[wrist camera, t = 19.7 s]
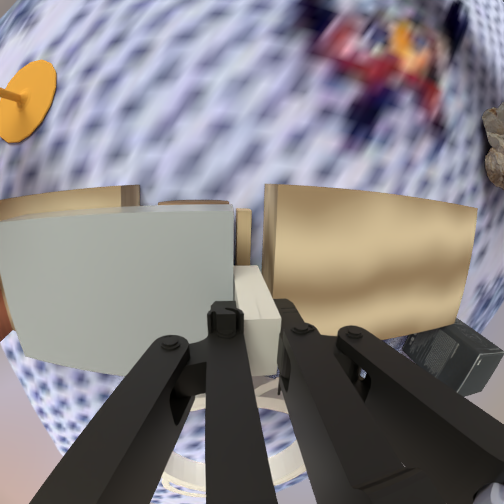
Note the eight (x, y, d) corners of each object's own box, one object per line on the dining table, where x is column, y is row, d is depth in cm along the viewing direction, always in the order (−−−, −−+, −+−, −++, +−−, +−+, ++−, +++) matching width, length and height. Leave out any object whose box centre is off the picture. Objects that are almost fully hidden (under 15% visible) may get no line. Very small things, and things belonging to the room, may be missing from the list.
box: (400, 350, 28) (450, 402, 17) (420, 308, 26) (481, 353, 16) (436, 351, 29) (481, 393, 19) (454, 315, 28) (506, 351, 18)
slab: (26, 214, 15) (-8, 223, 11) (232, 204, 16) (233, 211, 13) (48, 331, 17) (25, 356, 14) (232, 346, 19) (234, 381, 15)
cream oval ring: (244, 484, 33) (247, 506, 28) (114, 446, 28) (108, 469, 23) (367, 379, 28) (384, 403, 24) (200, 302, 23) (196, 330, 19)
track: (5, 199, 18) (-67, 215, 8) (444, 202, 23) (519, 218, 13) (22, 309, 21) (-32, 357, 11) (427, 305, 26) (486, 347, 16)
